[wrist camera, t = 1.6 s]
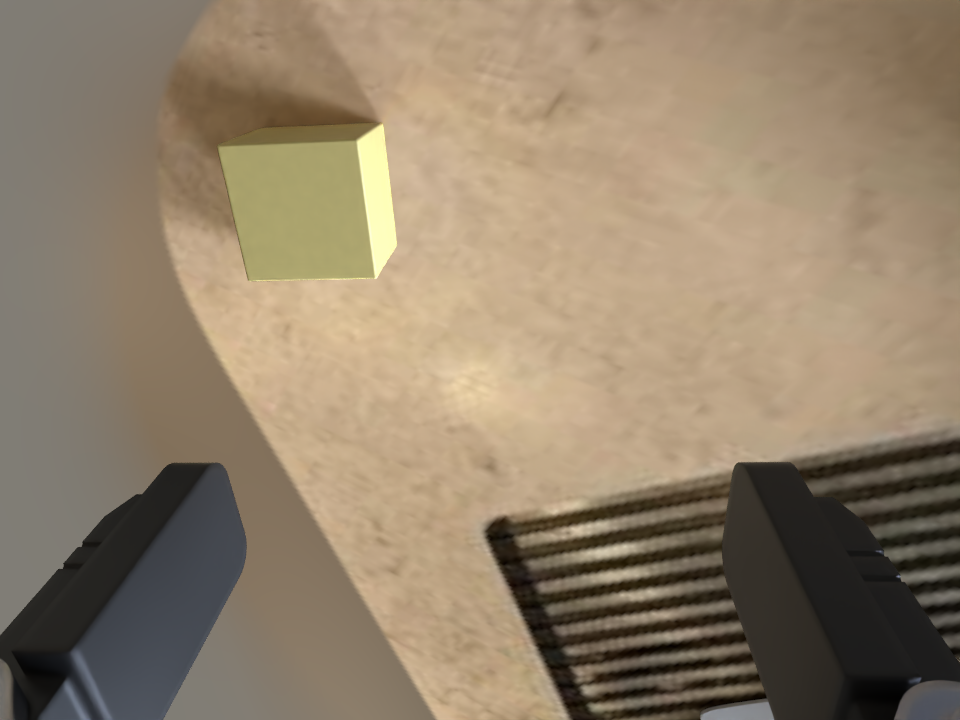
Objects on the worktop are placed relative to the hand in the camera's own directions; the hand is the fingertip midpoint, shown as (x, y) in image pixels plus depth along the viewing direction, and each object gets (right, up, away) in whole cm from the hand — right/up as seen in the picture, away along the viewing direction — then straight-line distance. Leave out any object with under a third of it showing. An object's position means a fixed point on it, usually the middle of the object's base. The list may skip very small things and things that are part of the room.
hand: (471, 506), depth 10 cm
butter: (-6, +9, +16) cm, 20 cm away
